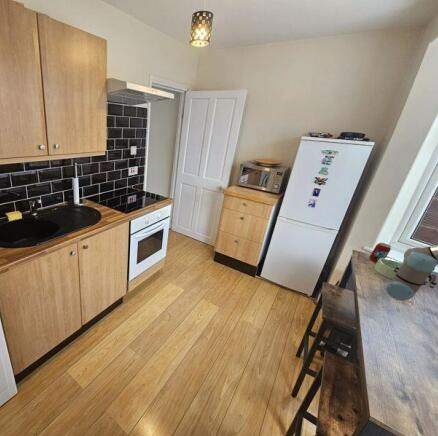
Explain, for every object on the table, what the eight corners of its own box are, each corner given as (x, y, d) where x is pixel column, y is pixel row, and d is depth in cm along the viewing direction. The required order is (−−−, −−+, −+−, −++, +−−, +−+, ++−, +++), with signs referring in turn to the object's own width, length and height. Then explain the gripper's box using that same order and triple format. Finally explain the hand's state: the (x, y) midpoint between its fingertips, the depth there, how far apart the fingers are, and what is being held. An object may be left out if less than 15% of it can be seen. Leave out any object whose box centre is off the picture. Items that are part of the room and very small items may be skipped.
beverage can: (371, 262, 146) (381, 246, 141) (366, 256, 152) (375, 241, 147) (384, 264, 144) (394, 248, 139) (378, 259, 150) (388, 243, 145)
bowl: (410, 278, 133) (417, 269, 130) (403, 285, 126) (409, 276, 123) (378, 264, 144) (383, 255, 141) (369, 270, 137) (375, 261, 134)
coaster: (415, 301, 114) (415, 301, 114) (409, 308, 110) (410, 307, 109) (391, 290, 121) (391, 289, 121) (385, 295, 116) (386, 295, 116)
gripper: (381, 277, 107) (397, 265, 118) (429, 300, 95) (442, 283, 106) (390, 264, 103) (406, 252, 115) (441, 286, 92) (452, 270, 103)
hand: (423, 267), depth 111 cm, fingers closed on stirring pestle, 2 cm apart
